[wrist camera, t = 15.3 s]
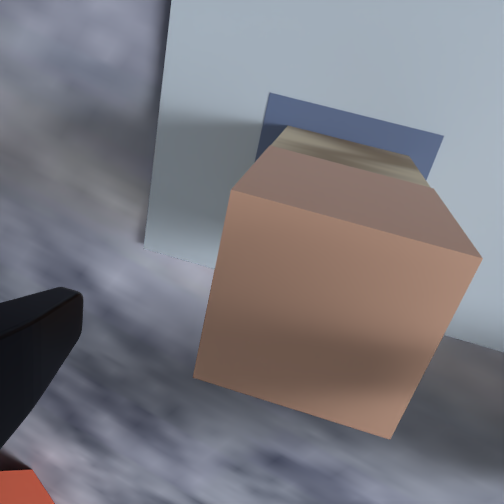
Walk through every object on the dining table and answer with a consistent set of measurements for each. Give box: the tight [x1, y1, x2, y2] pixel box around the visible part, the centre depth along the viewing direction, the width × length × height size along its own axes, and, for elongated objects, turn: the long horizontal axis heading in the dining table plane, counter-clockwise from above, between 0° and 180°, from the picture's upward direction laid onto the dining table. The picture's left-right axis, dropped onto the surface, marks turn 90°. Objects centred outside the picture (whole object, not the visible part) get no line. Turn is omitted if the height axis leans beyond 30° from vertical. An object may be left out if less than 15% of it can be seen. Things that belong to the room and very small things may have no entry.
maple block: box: [271, 126, 431, 188], centre depth 16 cm, size 5×5×5 cm
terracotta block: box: [193, 146, 483, 439], centre depth 12 cm, size 5×5×5 cm
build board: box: [144, 0, 504, 352], centre depth 16 cm, size 24×18×1 cm
